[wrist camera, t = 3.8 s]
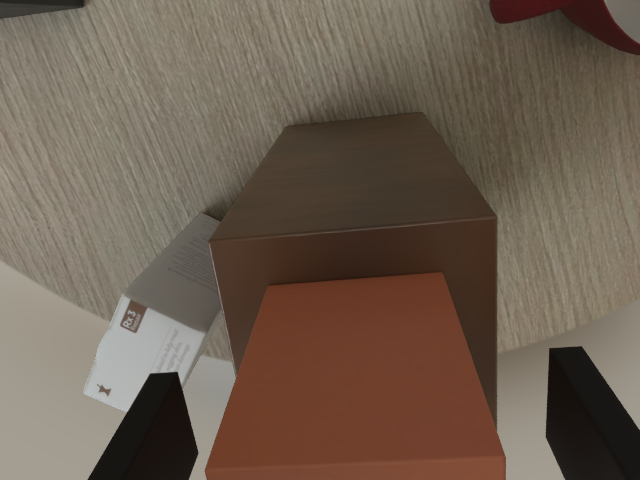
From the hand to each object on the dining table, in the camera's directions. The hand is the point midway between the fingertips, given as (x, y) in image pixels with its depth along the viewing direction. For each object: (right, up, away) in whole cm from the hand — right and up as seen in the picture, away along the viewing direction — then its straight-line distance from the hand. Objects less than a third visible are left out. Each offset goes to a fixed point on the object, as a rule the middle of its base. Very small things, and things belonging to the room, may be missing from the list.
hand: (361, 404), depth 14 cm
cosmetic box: (-8, +3, +21) cm, 23 cm away
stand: (+1, +8, +19) cm, 20 cm away
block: (0, +1, +2) cm, 2 cm away
